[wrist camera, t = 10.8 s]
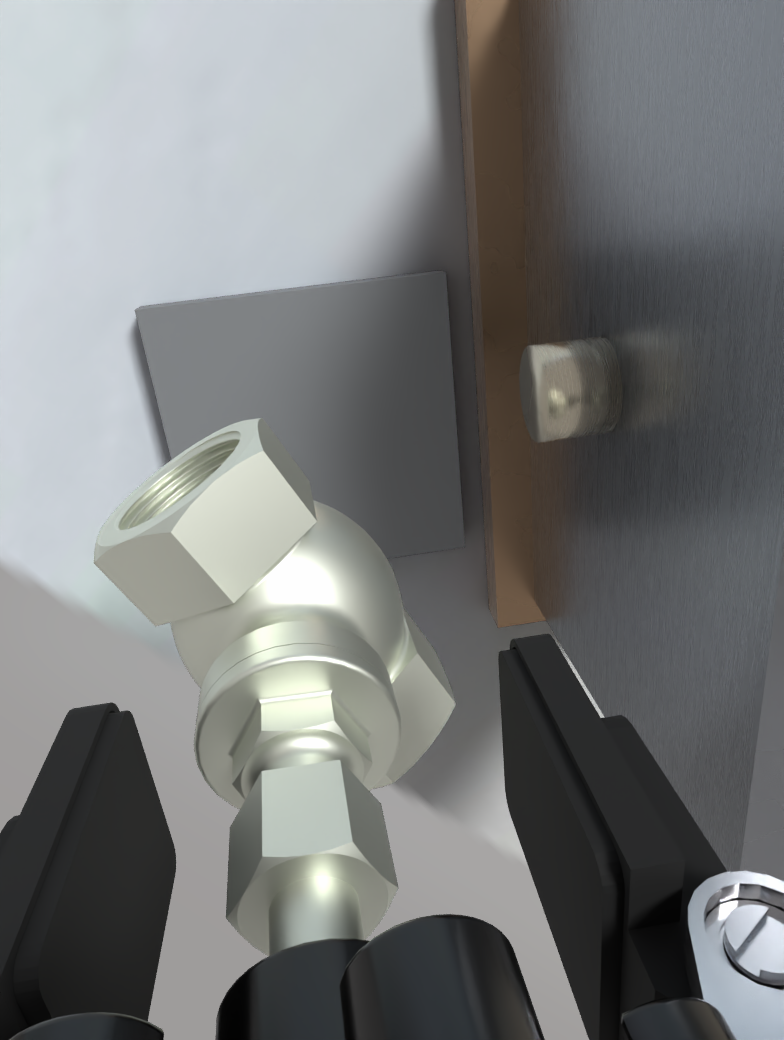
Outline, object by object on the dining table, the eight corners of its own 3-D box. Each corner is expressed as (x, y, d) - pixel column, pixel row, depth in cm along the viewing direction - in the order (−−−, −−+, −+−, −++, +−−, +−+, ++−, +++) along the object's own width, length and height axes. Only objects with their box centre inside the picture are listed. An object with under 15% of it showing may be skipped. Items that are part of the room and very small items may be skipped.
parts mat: (440, 270, 24) (446, 272, 23) (459, 536, 28) (465, 547, 27) (141, 306, 23) (134, 310, 22) (205, 573, 27) (201, 585, 26)
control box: (683, -64, 21) (1470, -638, 7) (651, 583, 30) (964, 914, 16) (442, -41, 21) (751, -610, 6) (481, 609, 29) (648, 975, 15)
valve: (252, 734, 17) (244, 1657, 6) (53, 532, 14) (-601, 1584, 3) (486, 588, 16) (923, 1318, 6) (327, 348, 14) (596, 888, 3)
